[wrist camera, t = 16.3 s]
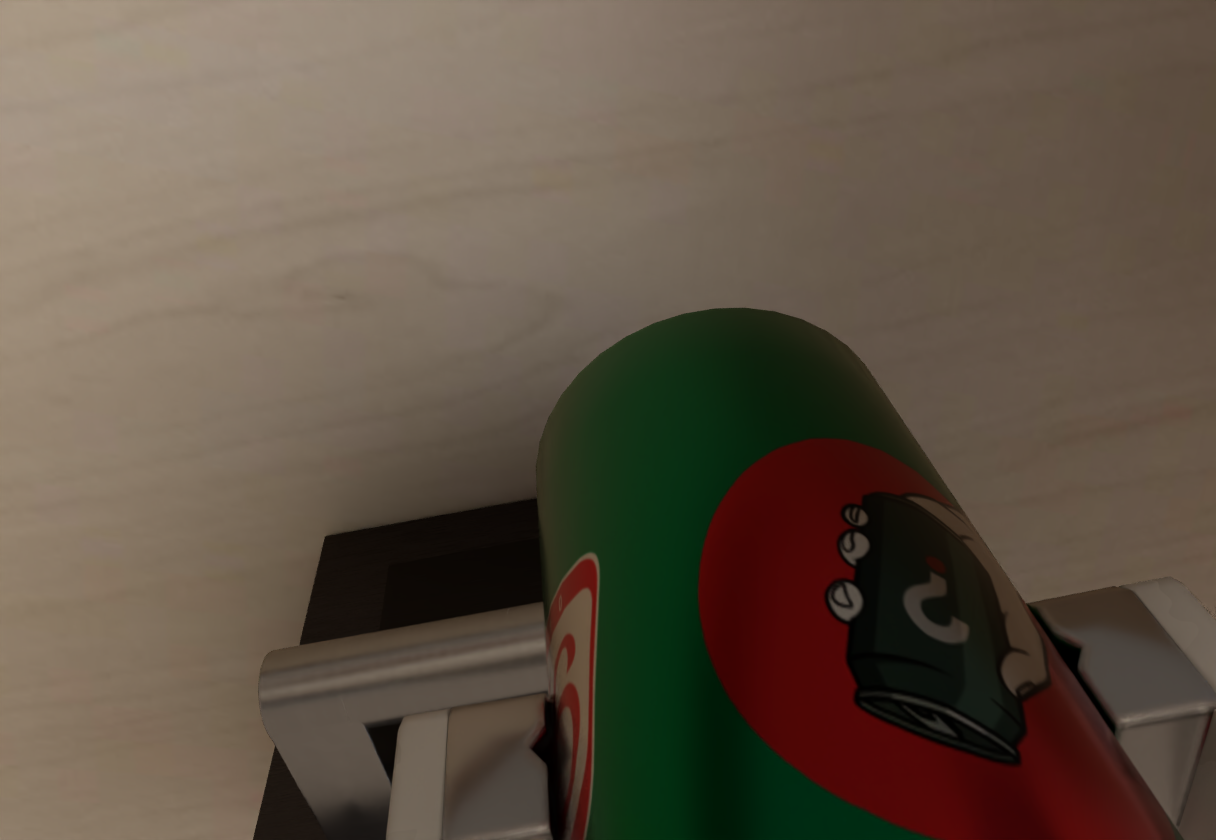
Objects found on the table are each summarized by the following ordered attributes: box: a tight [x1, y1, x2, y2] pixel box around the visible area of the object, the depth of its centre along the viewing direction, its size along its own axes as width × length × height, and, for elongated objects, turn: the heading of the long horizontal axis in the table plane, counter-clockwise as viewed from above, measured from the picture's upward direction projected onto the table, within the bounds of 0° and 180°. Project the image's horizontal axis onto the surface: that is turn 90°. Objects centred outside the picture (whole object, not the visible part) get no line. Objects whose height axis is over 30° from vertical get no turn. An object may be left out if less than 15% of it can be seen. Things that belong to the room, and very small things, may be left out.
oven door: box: [253, 498, 549, 840], centre depth 26 cm, size 7×18×14 cm, turn 99°
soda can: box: [536, 308, 1184, 840], centre depth 9 cm, size 5×5×12 cm
